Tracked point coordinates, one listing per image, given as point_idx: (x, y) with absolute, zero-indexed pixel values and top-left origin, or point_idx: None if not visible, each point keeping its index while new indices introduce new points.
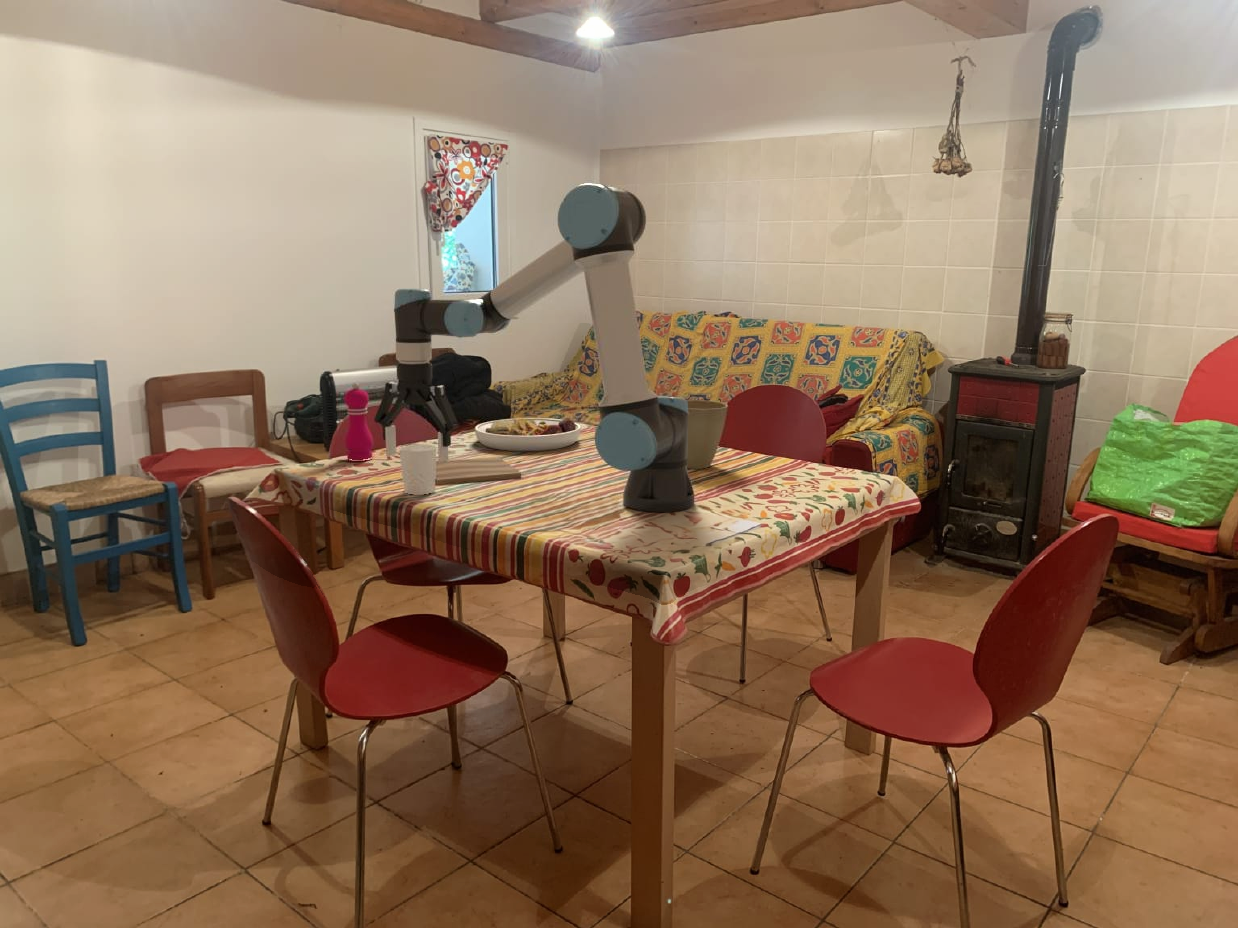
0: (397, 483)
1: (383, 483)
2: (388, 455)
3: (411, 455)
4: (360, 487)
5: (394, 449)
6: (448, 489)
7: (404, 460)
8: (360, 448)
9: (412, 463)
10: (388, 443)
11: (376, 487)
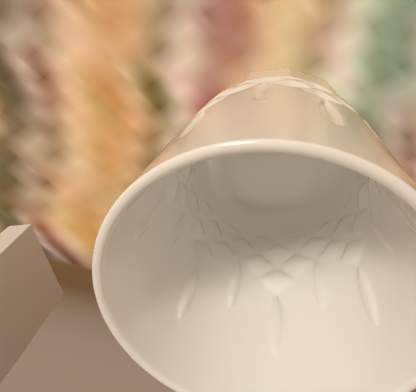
0: (53, 69)
1: (10, 106)
2: (57, 298)
3: (315, 390)
4: (13, 205)
5: (17, 267)
6: (391, 17)
7: (248, 347)
8: None
9: (312, 334)
10: (7, 371)
11: (56, 177)
